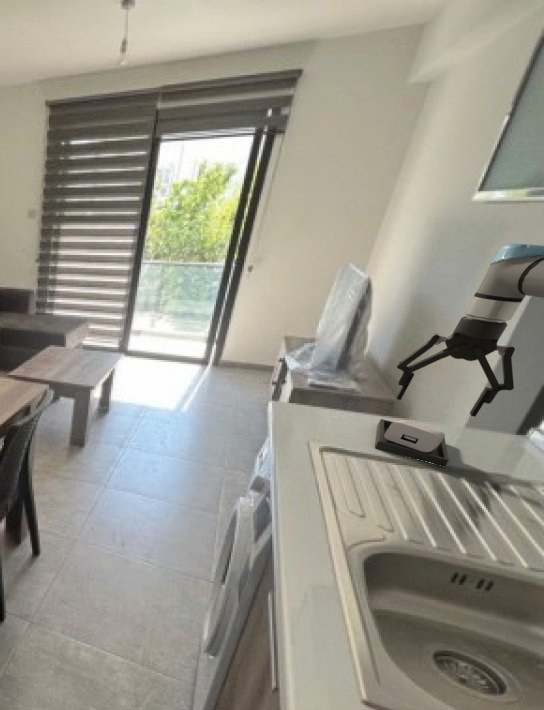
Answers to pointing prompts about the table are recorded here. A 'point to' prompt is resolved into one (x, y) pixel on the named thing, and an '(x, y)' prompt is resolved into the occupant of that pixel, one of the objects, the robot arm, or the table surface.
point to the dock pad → (435, 456)
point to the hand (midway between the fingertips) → (434, 406)
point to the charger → (414, 435)
